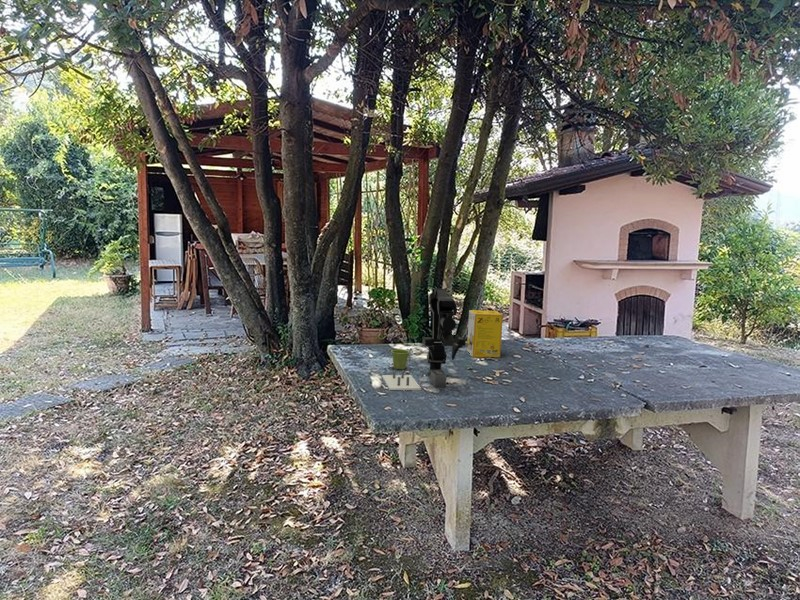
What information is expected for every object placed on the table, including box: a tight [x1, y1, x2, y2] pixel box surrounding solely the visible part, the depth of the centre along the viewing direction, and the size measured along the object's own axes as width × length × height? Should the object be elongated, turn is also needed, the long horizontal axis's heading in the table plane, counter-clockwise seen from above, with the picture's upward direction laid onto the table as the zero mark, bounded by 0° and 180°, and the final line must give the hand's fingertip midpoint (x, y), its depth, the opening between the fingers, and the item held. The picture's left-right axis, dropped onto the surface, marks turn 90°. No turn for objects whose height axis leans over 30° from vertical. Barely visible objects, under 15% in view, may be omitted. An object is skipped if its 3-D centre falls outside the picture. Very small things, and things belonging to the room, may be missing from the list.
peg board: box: [381, 369, 422, 392], centre depth 241 cm, size 22×14×4 cm, turn 11°
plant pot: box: [390, 349, 410, 370], centre depth 269 cm, size 9×9×9 cm
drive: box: [429, 368, 447, 388], centre depth 243 cm, size 9×5×6 cm, turn 11°
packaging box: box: [466, 309, 504, 358], centre depth 310 cm, size 16×16×25 cm
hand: (442, 360), depth 239 cm, fingers open, 9 cm apart
